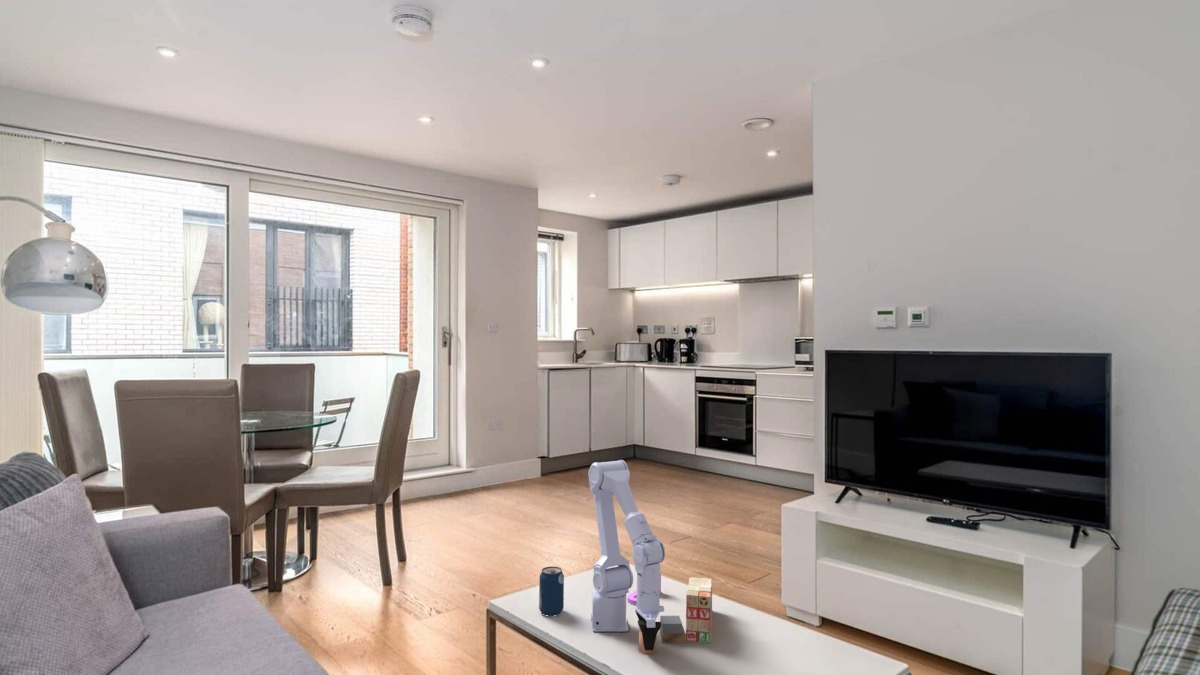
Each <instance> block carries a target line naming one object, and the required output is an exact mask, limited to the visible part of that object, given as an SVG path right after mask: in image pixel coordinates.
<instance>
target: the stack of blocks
mask: <svg viewBox="0 0 1200 675" xmlns="http://www.w3.org/2000/svg"><path fill="white" fill-rule="evenodd" d="M688 578H689V579H688V586H687V590H686V594H685V595H686V598H685V599H686V602H685V603H686V604H685V605H686V607H685V608H686V609H685V610H686V611H685V618H686V622H685V623H686V625H685V626H686V627H685V634H686V642H689V643H690V642H691V643H699V644H700V643H701V644H711V637H712V618H713V581H712V580H713V579H712V578H708V577H695V576H694V577H693V576H691V577H688Z"/></svg>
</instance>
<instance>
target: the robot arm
mask: <svg viewBox="0 0 1200 675" xmlns="http://www.w3.org/2000/svg"><path fill="white" fill-rule="evenodd" d="M587 473H588V474H587V475H588V483H589V489H590V493H591V494H593V501H594V502H593V503H594V508H595V517H596V523H597V531H598V539H599V547H600V548H599V549H600V555H601V557H600V558H599V559H598V560H597V561H596V562H595V563H594V565H593V566H592V567H593V578H592V583H593V588H594V590H595V591H596V592H595V591H594V592H592V598H591V599H592V602H591V603H592V605H591V606H592V608H591V610H592V612H591V614H590V621H591V623H592V625H591V626H592V631H593V632H596V633H598V632H599V633H602V632H604V633H605V632H611V633H612V632H616V633H617V632H629V626H628V625H629V624H628V620H627V619H628V618H627V594H628V593H630V592H629V591H630V589H631V588H632V587H633V584H634V574H633V572H632V568H631V567H630V561H629V560H628V559H627V558H626V557H624V556H623V555H621V550H620V543H619V535H618V527H617V520H616V513H615V507H614V506H615V505H614V498H613V496H614V497H615V499H616V500H617V503H618V504H619V507H620V508H621V510H622V513H623V514H624V516H625V520H624V522H623V523H624V524H623V525H624V527H625V529H626V532H627V534H628V536H629V539H630V541H631V544H632V547H633V549H632V552H631V555H632V560H633V562H634V570H635V572H636V590H637V605H635V614H636V616H637V619H638V620H637V625H638V627H639V629H640V630H641V632H642V637H643V644H644V649H645V650H653V649H654V645H655V640H656V636H658V633H659V632H660V628H661V622H660V621H656V620H657V618H658V616H659V614H660V613H662V612H663V613H664V611H665V607H664V605H660V599H661V598H660V594H661V593H660V573H661V563H663V562H664V561H665V557H666V550H665V547H664V543H663V541H661V540H660V539H659V538H658V537H657V536H656V534H655V535H654V534H653V532H652V529H651V527H650V525H649V523H648V521H647V517H646V516H645V514H643V513H641V512H639V509H638V507H637V504H636V502H635V498H634V495H633V492H632V489H631V486H630V484H629V482H630V478H631V472H630V470H629V466H628V464H627V462H626V461H625V460H623V459H618V460H611V461H602V462H597V461H596V462H593V463H592V464H591V465H590V467H589V470H588V472H587ZM640 630H639V631H640Z"/></svg>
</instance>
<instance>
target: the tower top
mask: <svg viewBox="0 0 1200 675" xmlns="http://www.w3.org/2000/svg"><path fill="white" fill-rule="evenodd" d="M659 618H660V621H659V622H661V629H662V633H663V634H682V625H683V622H682V619H681V617H680V615H660V617H659Z"/></svg>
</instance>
